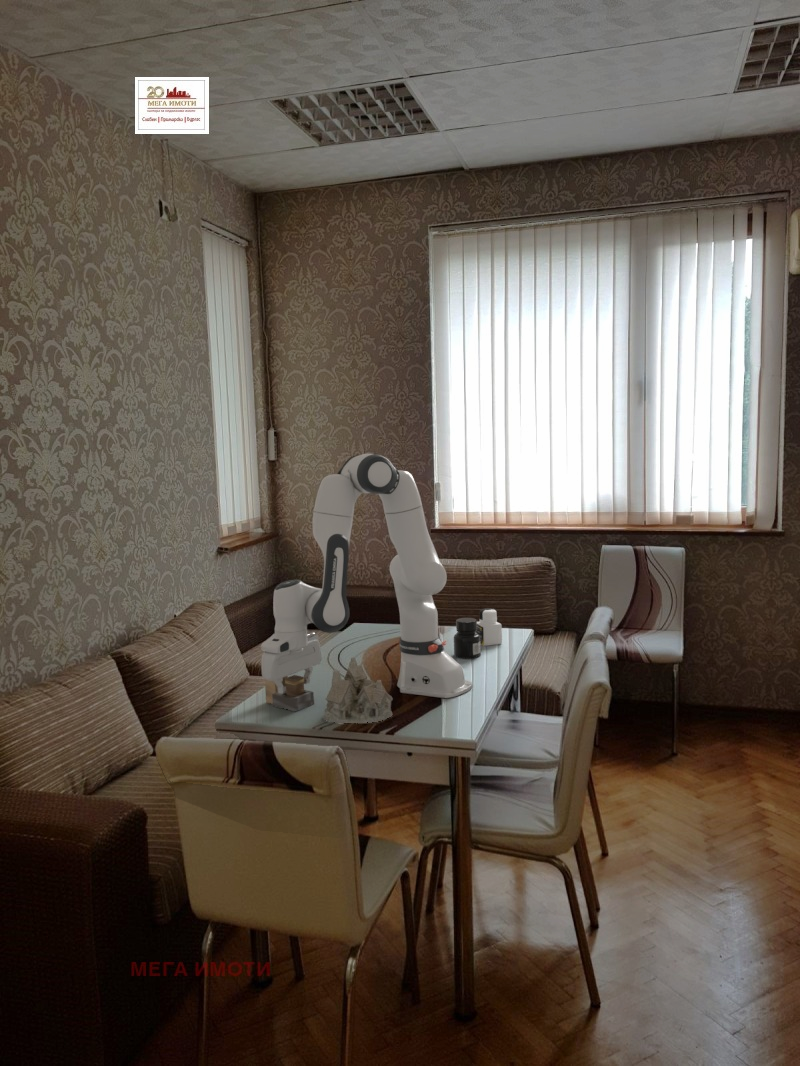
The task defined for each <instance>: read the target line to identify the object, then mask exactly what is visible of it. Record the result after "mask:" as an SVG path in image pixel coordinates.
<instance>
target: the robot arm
mask: <svg viewBox="0 0 800 1066" xmlns="http://www.w3.org/2000/svg"><path fill="white" fill-rule="evenodd" d="M316 493H317V494H316V497H315V502H314V507H313V513H312V514H313V515H312V535H313V538H314V539H315V541H316V543H317V545H318V547H319V548H320V550H321V553H322V556H323V561H324V562H323V564H324V565H323V575H322V586H321V587H322V588H320V587H315V586H312V585H310V584H307V583H305V582H303V581H302V580H300V579H289V580H285V581H283V582H280V583H278V584H277V585H276V586H275V588H274V591H273V602H272V604H273V605H272V606H273V607H272V609H273V616H274V621H275V625H274V633H273V634H272V635H271V636H270V637H268V638H267V639H266V640H265V641H263V642H262V643H261V645H260V649H261V651H262V652H263V653H262V655H261V663H260V664H261V665H260V666H261V676H262V678H263V679H264V681H265V680H268V681H274V682H275V684H276V686H277V687H278V693H284V692H286V686H283V684H282V681H283V677H285V676H288V677H289V676H292V675H295V674H296V673H299V672H302V671H304V673H303V676H302V677H303V678H304V685H307V684H310V683H311V676H312V673H313V668H314V667H316V666H318V665H320V664H321V663H322V661H323V656H322V649H321V644H320V642H319V641H320V639H319V635H318V634H317V633H315V632H310V633H308V625H309V624H314V626H315V627H316V628H317V629H318V630H319V631H321V632H324V633H329V634H333V633H337V632H339V631H340V630H342V629H343V628H344V627H345V626H346V625H347V623H348V621H349V619H350V606H349V602H348V599H347V583H348V568H349V552H350V550H349V549H350V542H351V535H352V529H353V528H352V527H353V522H354V521H353V520H354V512H355V505H356V502H357V500H358V498H359V497H360V496H361V495H362V494H366V495H367V494H374V495H375V494H377V495H378V496H379V498H380V500H381V502H382V506H383V507H382V508H383V512H384V513H383V514H384V515H385V516H384V517H385V521H386V525H387V530H388V535H389V538H390V542H391V543H392V544H393V547H394V548H395V551H396V553H397V554H396V555H395V556H394V557H393V558H392V560H391V561H390V564H389V573H390V577H391V578H392V581H393V585H394V591H395V592H394V593H395V596H396V597H395V598H396V601H397V605H398V611H399V622H400V625H399V626H400V627H399V628H400V638H399V651H400V667H399V668H400V669H399V676H398V681H397V684H396V686H397V687H398V688H399V692H400V693H402V694H408V695H418V696H424V697H425V696H426V697H434V698H443V699H448V698H455V697H457V696H460V695H463V694H465V693H467V692H469V691H470V690H472V688H473V682H472V681H470V680H466V679H465V674H464V670H463V669H464V668H463V666H462V665H461V664H460V663H458V661H457V660H455V659H454V658H453V657H452V656H451V655H449V654H448V653H447V651H445V648H444V646H446V645H447V640H444V641H442V639H441V637H440V636H439V622H438V621H439V618H438V617H439V616H438V610H437V607H436V605H435V602H434V599H433V595H437V594H438V593H440V592H441V591H442V590H443V589H444V587H445V586H446V584H447V578H448V577H447V571H446V569H445V567H444V566H443V564H442V563H441V561H440V559H439V556H438V553H437V551H436V547H435V545H434V543H433V540H432V539H431V535H430V534H429V531H428V527H427V526H428V525H427V521H426V517H425V513H424V508H423V507H424V506H423V504H422V499H421V495H420V492H419V489H418V486H417V484H416V480H415V478H414V477H413V474H411V473H410V472H409V471H407V470H401V469H398V470H397V468H396V467H395V466H394V465H393V463H392V462H391V461H390V460H389V459H388V458H387V457H385V456H383V455H381V454H375V453H374V454H373V453H363V454H356V455H353V456H351V457H349V458H348V459H347V460H346V461H345V462H344V463H343V465H342V467H341V468H340V470H339V471H337V473H333V474H329V475H327V476H324V477H323V478H322V480H321V482H320V484H319V486H318V490H317V492H316Z"/></svg>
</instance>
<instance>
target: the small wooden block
mask: <svg viewBox="0 0 800 1066" xmlns="http://www.w3.org/2000/svg"><path fill="white" fill-rule="evenodd" d="M303 677H304V676H301V675H297V674H292V675H289V676H288V678H286V680H285V683H286V695H287V696H291V697H297V696H299V695H302V694H304V690H305V684H304V678H303Z"/></svg>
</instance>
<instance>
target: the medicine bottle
mask: <svg viewBox="0 0 800 1066" xmlns="http://www.w3.org/2000/svg"><path fill="white" fill-rule="evenodd" d="M497 613H498V612H497V610H496V609H495V608H491V607H490V608H488V607H486V608H482V609H480V610H479V612H478V615H479V618H478V619H479V621H477V631H476V632H477V633H478V634H479V635H480V646H483V647H486V646H488V647H489V646H495V645H502V644H503V629H502V628H503V627H502V623H500V622H498V616H497V615H498V614H497Z"/></svg>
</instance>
